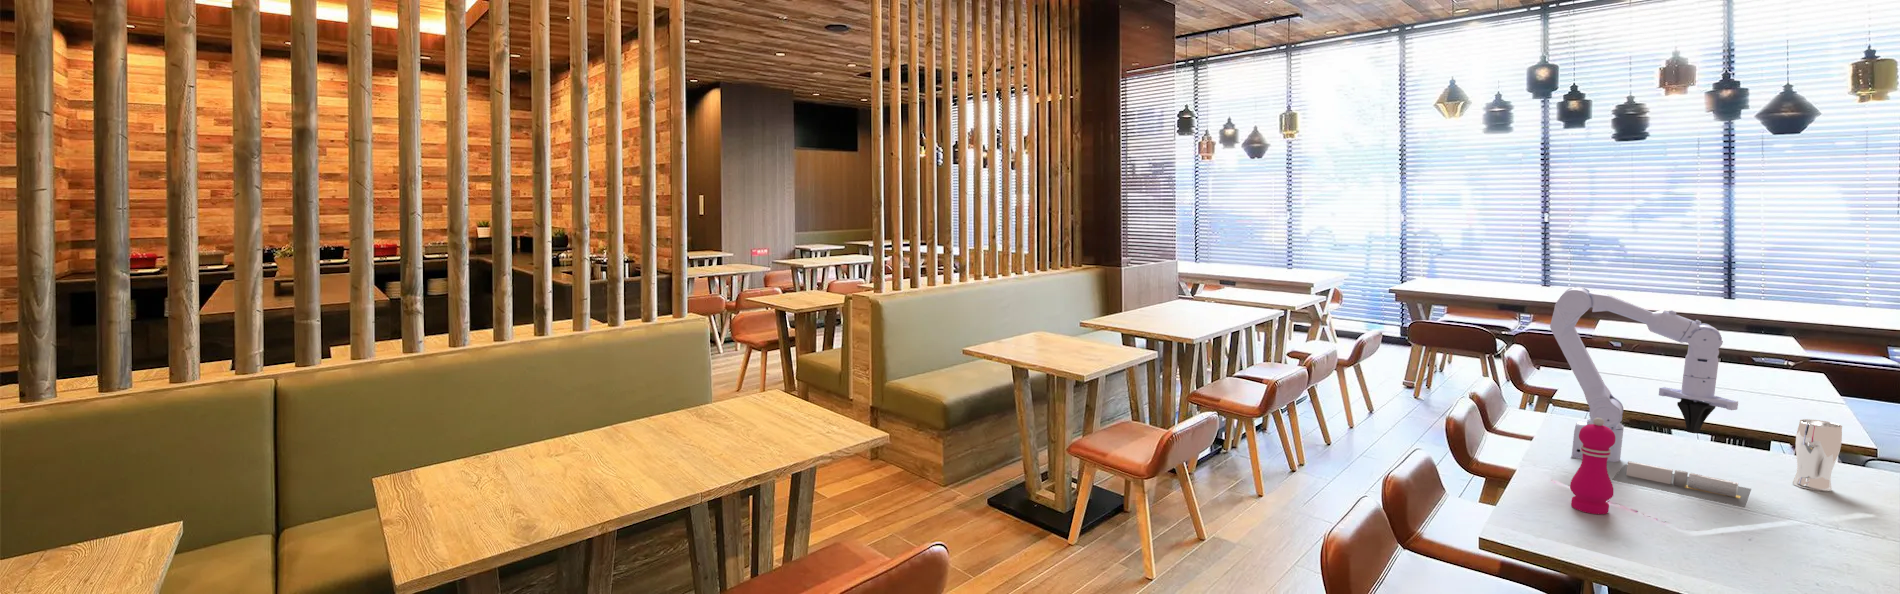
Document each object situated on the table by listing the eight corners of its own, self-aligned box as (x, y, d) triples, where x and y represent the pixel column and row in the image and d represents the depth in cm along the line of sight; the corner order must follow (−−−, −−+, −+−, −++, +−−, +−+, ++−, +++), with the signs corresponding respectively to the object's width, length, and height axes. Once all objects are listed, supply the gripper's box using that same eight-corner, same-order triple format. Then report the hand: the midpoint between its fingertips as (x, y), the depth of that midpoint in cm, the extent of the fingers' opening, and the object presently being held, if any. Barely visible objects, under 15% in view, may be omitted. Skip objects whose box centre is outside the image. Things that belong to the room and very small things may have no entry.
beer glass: (1813, 482, 186) (1822, 419, 184) (1843, 493, 179) (1853, 428, 177) (1780, 481, 187) (1789, 418, 185) (1809, 492, 180) (1818, 427, 178)
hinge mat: (1611, 483, 186) (1613, 466, 185) (1624, 467, 196) (1626, 451, 196) (1744, 510, 169) (1746, 492, 169) (1750, 492, 180) (1752, 475, 179)
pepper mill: (1619, 516, 166) (1629, 423, 164) (1579, 514, 168) (1589, 421, 165) (1598, 503, 173) (1608, 414, 171) (1561, 501, 175) (1570, 412, 172)
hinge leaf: (1687, 486, 180) (1689, 474, 180) (1689, 485, 181) (1690, 473, 181) (1735, 497, 174) (1737, 484, 174) (1736, 496, 175) (1738, 482, 174)
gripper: (1653, 371, 194) (1646, 425, 195) (1726, 384, 180) (1719, 442, 182) (1672, 368, 196) (1666, 422, 198) (1746, 381, 182) (1739, 439, 184)
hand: (1692, 432), depth 190 cm, fingers closed
